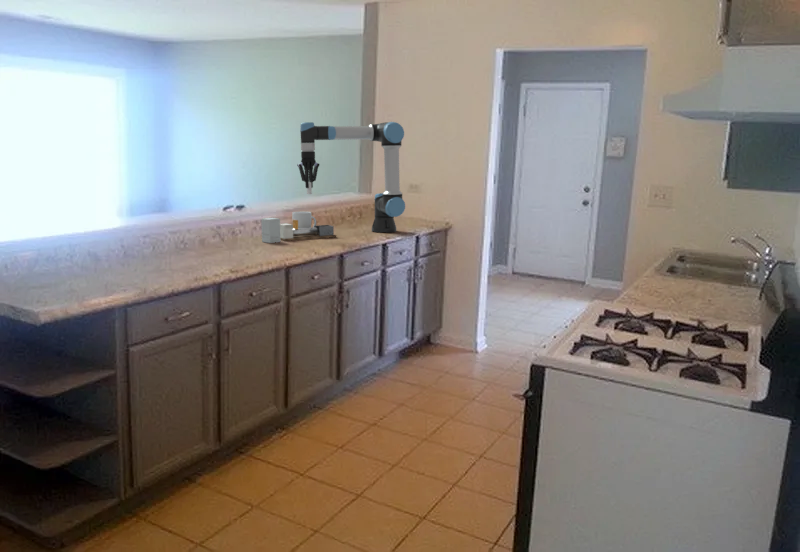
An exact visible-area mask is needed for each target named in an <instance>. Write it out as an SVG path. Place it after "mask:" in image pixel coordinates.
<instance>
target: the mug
mask: <svg viewBox="0 0 800 552" xmlns="http://www.w3.org/2000/svg"><path fill="white" fill-rule="evenodd" d="M312 215H313V214H312V211H292V222H293V220H298V228H312V227H314V226H317V219H316V217H315V216H312ZM312 219H313V220H312ZM312 221H313V222H314V223H313V226H312Z"/></svg>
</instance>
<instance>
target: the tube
mask: <svg viewBox="0 0 800 552" xmlns="http://www.w3.org/2000/svg"><path fill="white" fill-rule="evenodd" d="M292 225H293V236H305V235H317V232H318V231H317V228H316V227H313V226H311V228H298V220H293V221H292Z"/></svg>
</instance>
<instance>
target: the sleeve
mask: <svg viewBox="0 0 800 552" xmlns="http://www.w3.org/2000/svg"><path fill="white" fill-rule="evenodd" d="M313 226H314V225H313ZM314 227H316V228H317V231H318V232H317V235H319V236H328V235H335V234H334V231H335V230H334V227H335V226H334V225H331V224H322V225H321V224H320V225H316V226H314Z"/></svg>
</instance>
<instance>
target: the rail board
mask: <svg viewBox="0 0 800 552" xmlns="http://www.w3.org/2000/svg"><path fill="white" fill-rule="evenodd" d="M329 237H333V238H337V235H336V234H334V235H328V236H319V235H305V236H293V238H289V239H283V238H280V239H281V241H282V240H283V241H282V242H291V240H294V241H306V240H317V239H318V240H319V239H330V238H329Z"/></svg>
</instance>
